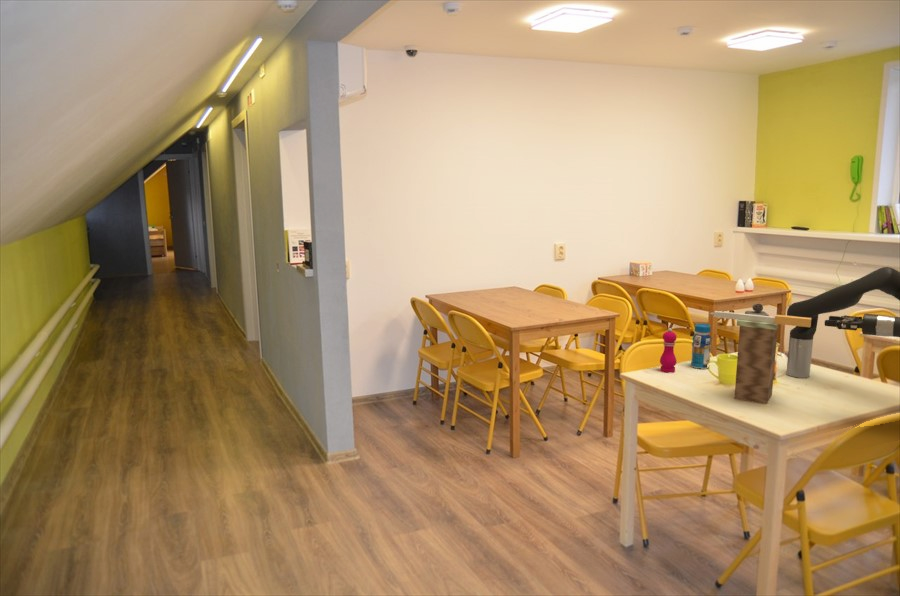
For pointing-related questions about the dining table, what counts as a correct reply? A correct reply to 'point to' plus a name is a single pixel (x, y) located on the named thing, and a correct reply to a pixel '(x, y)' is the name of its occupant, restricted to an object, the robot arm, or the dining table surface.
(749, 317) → the knife
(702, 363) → the blue snack canister
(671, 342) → the pepper mill
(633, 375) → the dining table surface
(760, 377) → the brown zigzag canister
